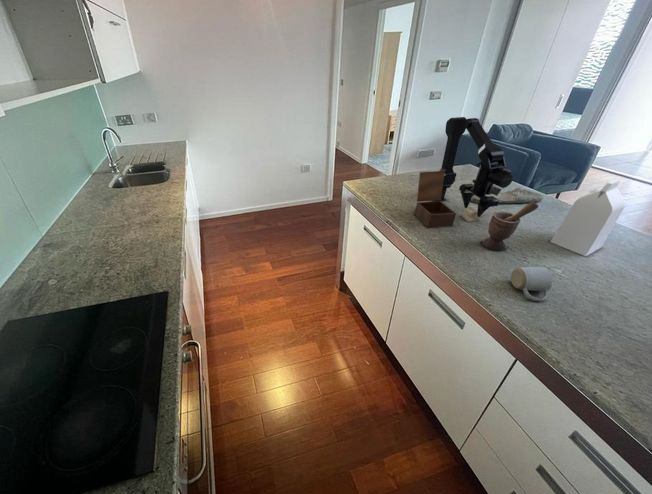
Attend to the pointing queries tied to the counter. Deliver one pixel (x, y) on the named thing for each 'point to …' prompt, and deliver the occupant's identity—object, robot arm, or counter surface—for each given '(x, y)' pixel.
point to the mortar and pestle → (505, 226)
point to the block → (470, 214)
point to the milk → (590, 220)
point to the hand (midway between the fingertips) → (471, 212)
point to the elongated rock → (514, 196)
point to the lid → (430, 186)
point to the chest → (435, 214)
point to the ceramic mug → (532, 280)
